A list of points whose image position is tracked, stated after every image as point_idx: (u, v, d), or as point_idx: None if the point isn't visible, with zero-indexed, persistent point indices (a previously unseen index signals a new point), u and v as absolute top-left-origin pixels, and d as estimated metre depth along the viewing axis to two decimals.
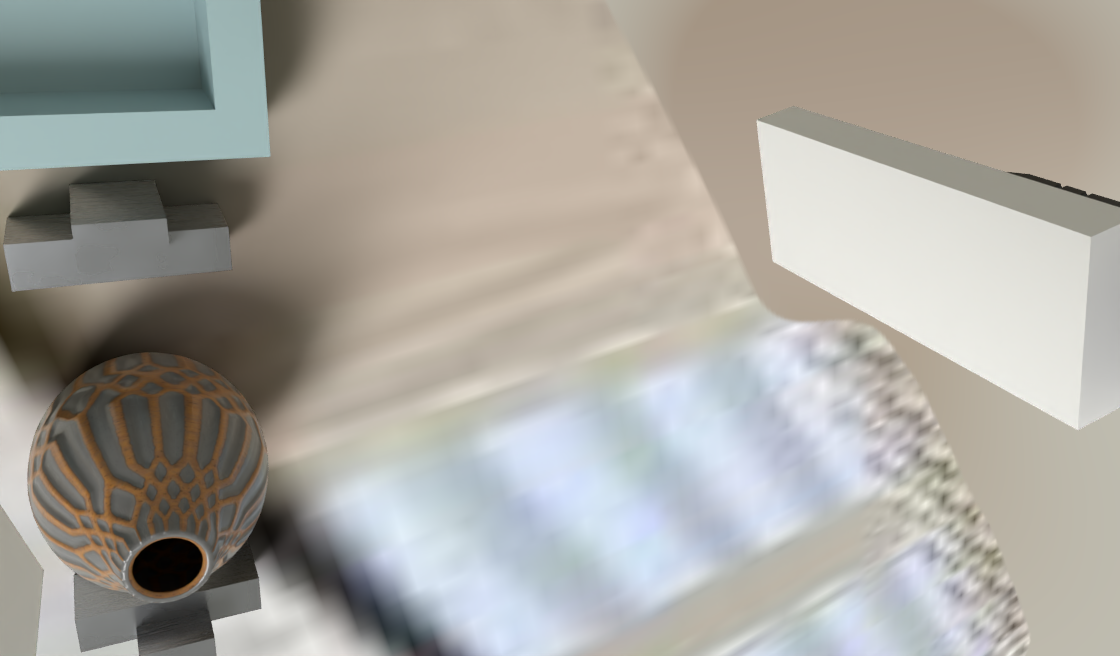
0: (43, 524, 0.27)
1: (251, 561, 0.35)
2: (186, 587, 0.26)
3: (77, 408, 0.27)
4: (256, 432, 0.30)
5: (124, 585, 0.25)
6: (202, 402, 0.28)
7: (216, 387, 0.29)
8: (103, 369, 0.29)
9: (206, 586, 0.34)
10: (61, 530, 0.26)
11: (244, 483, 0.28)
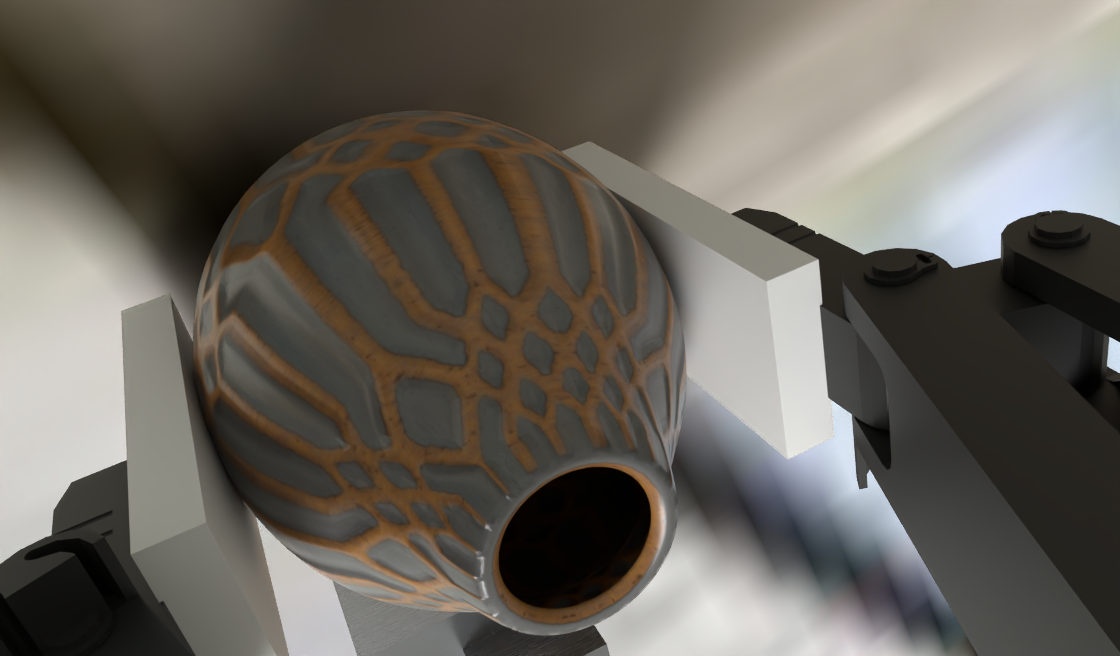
0: (259, 502, 0.12)
1: None
2: (624, 582, 0.11)
3: (261, 231, 0.12)
4: None
5: (489, 611, 0.10)
6: (522, 160, 0.12)
7: (531, 139, 0.13)
8: (291, 154, 0.13)
9: None
10: (302, 507, 0.11)
11: (663, 321, 0.12)
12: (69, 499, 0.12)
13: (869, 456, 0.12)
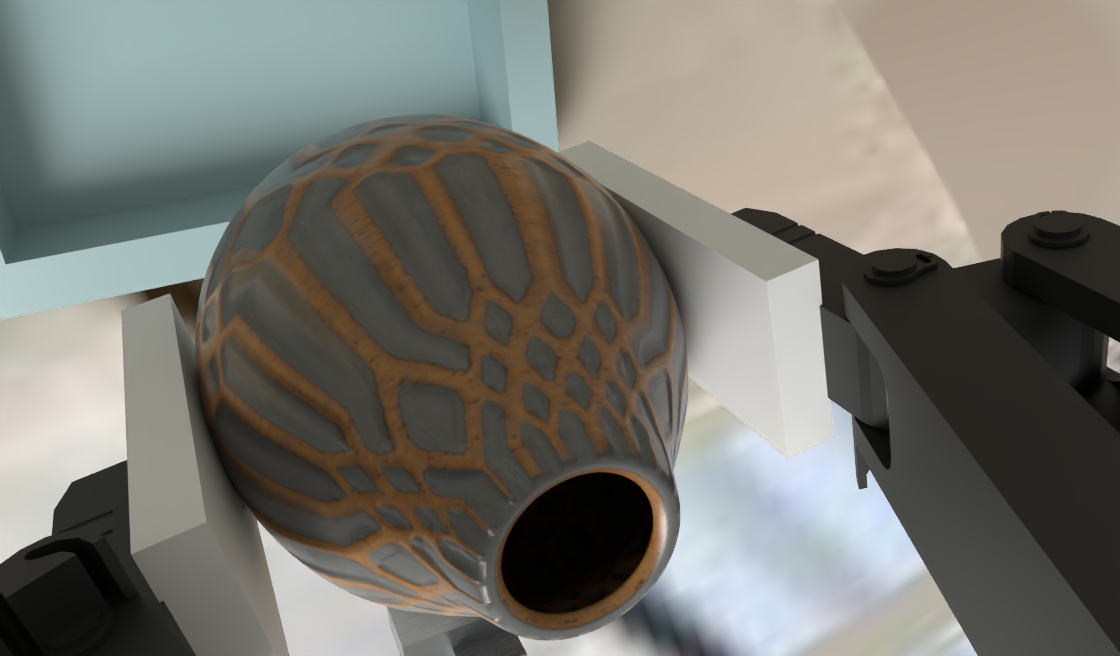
0: (261, 506, 0.12)
1: None
2: (627, 587, 0.11)
3: (264, 235, 0.12)
4: None
5: (492, 615, 0.10)
6: (526, 165, 0.12)
7: (534, 143, 0.13)
8: (294, 158, 0.13)
9: None
10: (305, 512, 0.11)
11: (665, 326, 0.12)
12: (69, 499, 0.12)
13: (869, 456, 0.12)
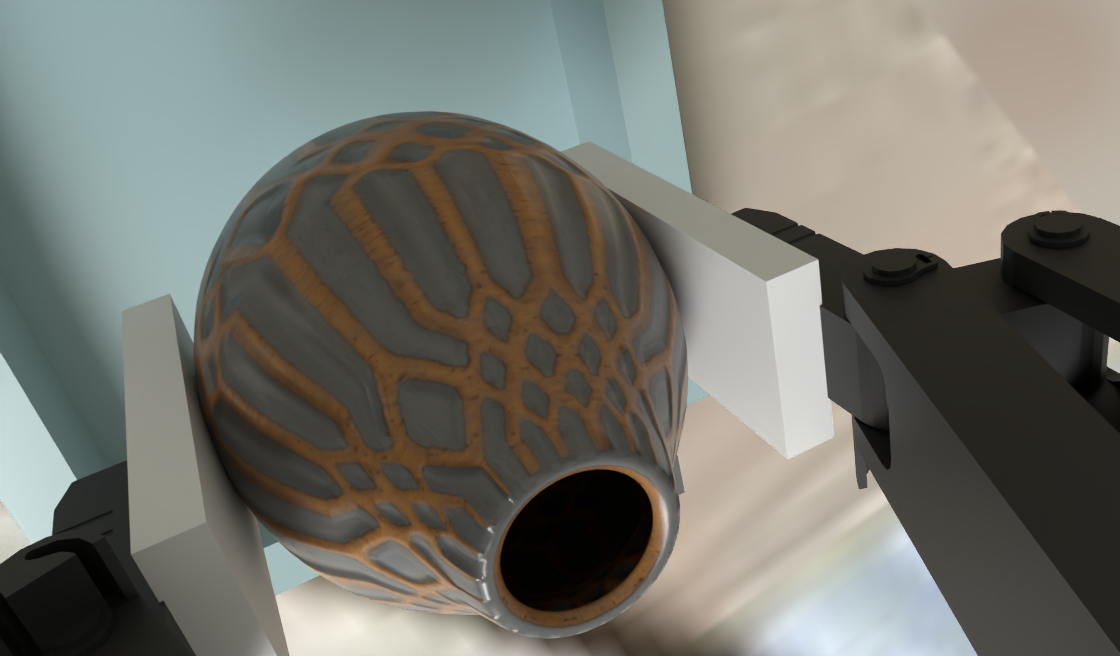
0: (259, 503, 0.12)
1: None
2: (626, 585, 0.11)
3: (263, 231, 0.12)
4: (636, 223, 0.14)
5: (491, 613, 0.10)
6: (525, 162, 0.12)
7: (534, 141, 0.13)
8: (293, 154, 0.13)
9: None
10: (303, 509, 0.11)
11: (665, 323, 0.12)
12: (69, 499, 0.12)
13: (869, 456, 0.12)
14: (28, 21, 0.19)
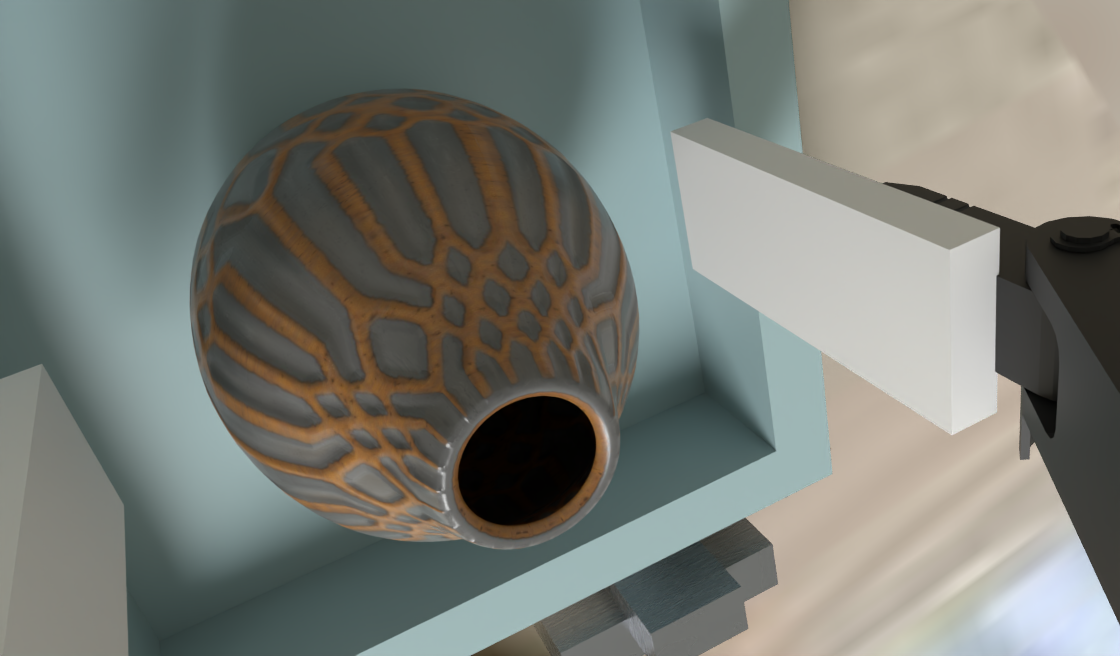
0: (248, 437, 0.13)
1: None
2: (572, 504, 0.12)
3: (252, 192, 0.13)
4: (593, 190, 0.15)
5: (450, 523, 0.11)
6: (489, 132, 0.13)
7: (500, 114, 0.14)
8: (281, 126, 0.14)
9: None
10: (286, 439, 0.12)
11: (614, 277, 0.13)
12: None
13: (1034, 425, 0.12)
14: (21, 55, 0.15)
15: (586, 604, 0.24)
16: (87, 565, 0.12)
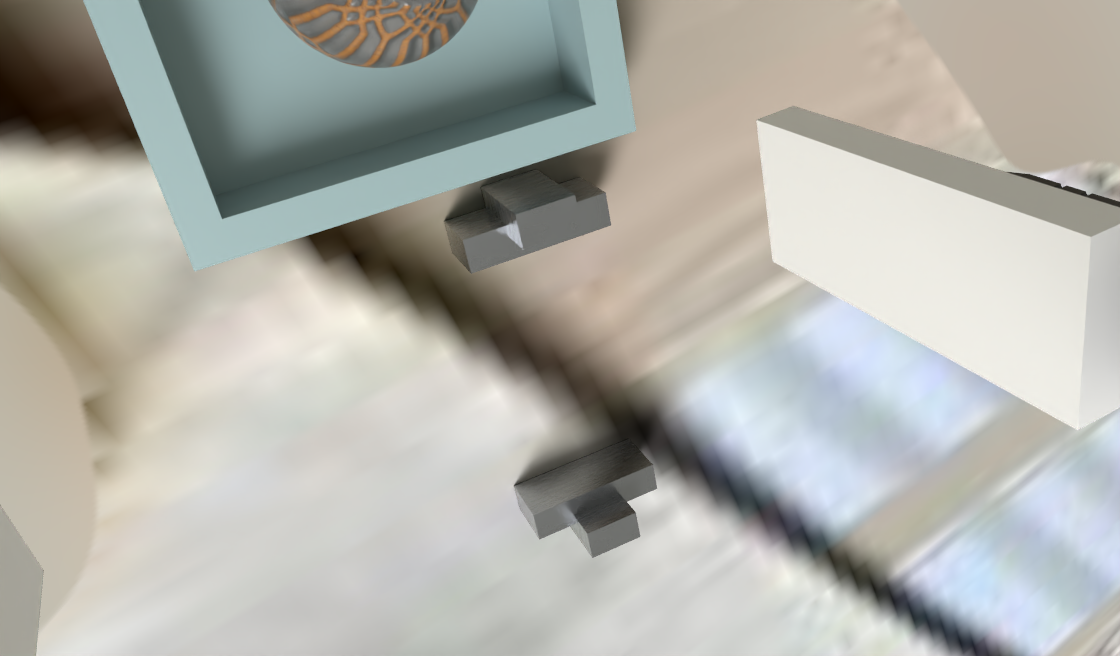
0: None
1: (640, 454, 0.44)
2: None
3: None
4: None
5: None
6: None
7: None
8: None
9: (616, 476, 0.43)
10: None
11: None
12: None
13: None
14: None
15: (483, 223, 0.37)
16: None
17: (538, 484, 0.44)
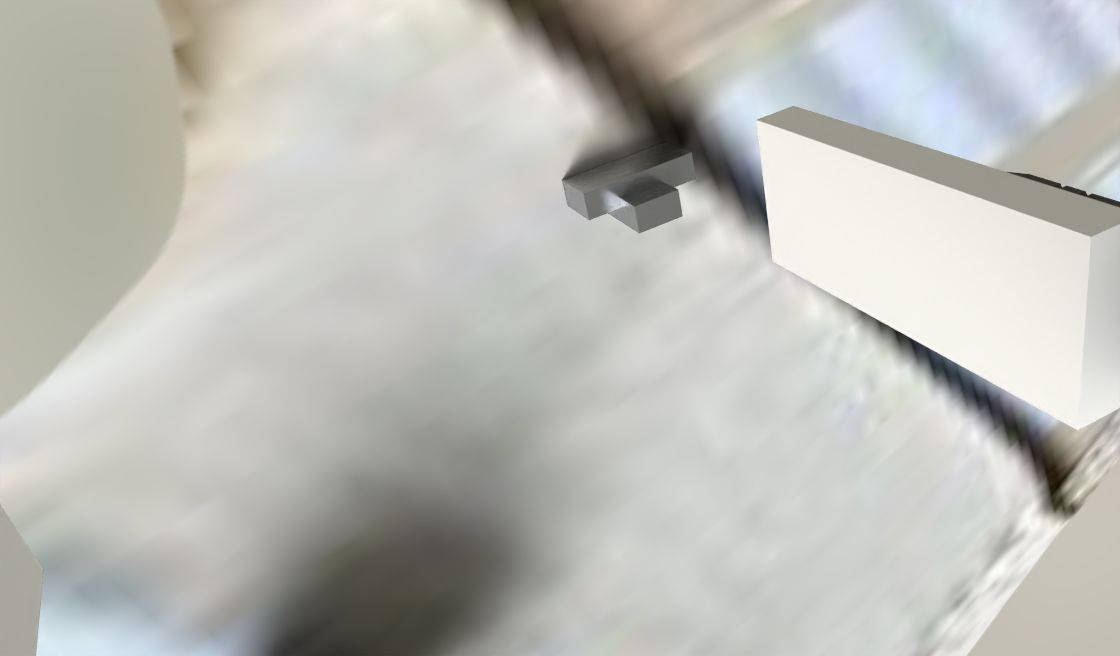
0: None
1: (679, 148, 0.47)
2: None
3: None
4: None
5: None
6: None
7: None
8: None
9: (658, 163, 0.46)
10: None
11: None
12: None
13: None
14: None
15: None
16: None
17: (585, 176, 0.47)
